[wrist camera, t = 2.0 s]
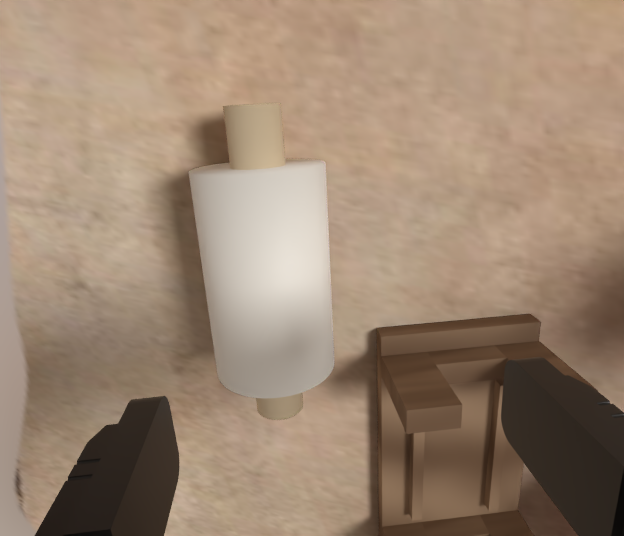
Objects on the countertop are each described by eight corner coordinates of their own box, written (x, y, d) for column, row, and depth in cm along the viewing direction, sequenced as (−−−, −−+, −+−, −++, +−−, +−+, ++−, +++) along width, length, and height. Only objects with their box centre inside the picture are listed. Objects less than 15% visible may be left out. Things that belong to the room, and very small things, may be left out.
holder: (376, 328, 24) (407, 388, 18) (530, 313, 24) (601, 368, 19) (378, 540, 29) (403, 634, 23) (506, 524, 29) (557, 613, 24)
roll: (237, 107, 21) (147, 110, 16) (345, 99, 18) (273, 101, 14) (264, 365, 25) (199, 423, 21) (354, 388, 23) (301, 459, 18)
